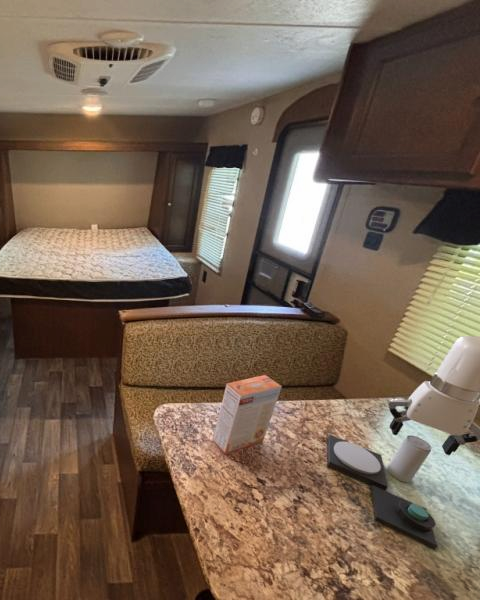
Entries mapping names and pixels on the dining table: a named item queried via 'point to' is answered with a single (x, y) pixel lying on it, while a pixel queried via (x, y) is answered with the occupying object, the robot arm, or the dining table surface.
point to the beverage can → (409, 458)
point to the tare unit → (401, 517)
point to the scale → (356, 462)
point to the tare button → (417, 512)
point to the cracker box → (245, 413)
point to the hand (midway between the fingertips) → (418, 441)
